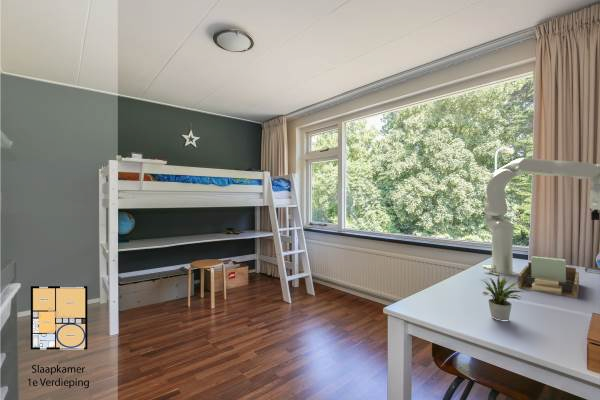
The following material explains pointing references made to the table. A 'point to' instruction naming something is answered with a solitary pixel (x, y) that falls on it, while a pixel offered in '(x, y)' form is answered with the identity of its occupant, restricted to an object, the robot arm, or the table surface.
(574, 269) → the rack
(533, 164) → the robot arm
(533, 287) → the offcut lower
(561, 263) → the green panel
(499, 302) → the house plant
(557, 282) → the offcut upper
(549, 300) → the table surface
